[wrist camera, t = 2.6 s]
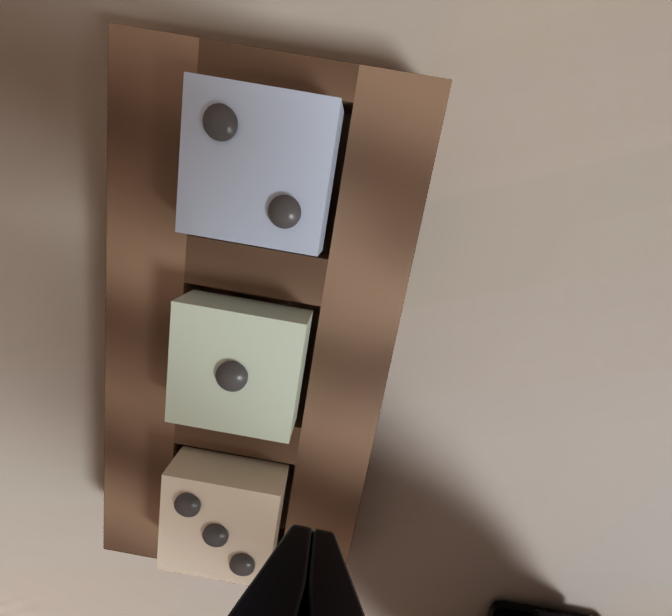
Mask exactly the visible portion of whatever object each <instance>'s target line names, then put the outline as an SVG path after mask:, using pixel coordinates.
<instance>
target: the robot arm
mask: <svg viewBox="0 0 672 616" xmlns="http://www.w3.org/2000/svg"><path fill="white" fill-rule="evenodd" d="M228 616H365V615H364V612H363V609H362V607H361V604H360V601H359V598H358V596H357V593H356V590H355V588H354V585H353V582H352V580H351V577H350V574H349V571H348V569H347V566H346V563H345V561H344V558H343V555H342V552H341V550H340V547H339V544H338V542H337V539H336V536H335V534H334V533H333V532H332V531H328V530H323V529H318V528H316V529H314V530H313V532H312V528H311V527H308V526H303V525H298V524H293V525H292V526H291V527H290V528H289V530H288V531H287V532H286V534H285V535H284V537H283V538H282V539H281V541H280V542H279V544H278V545H277V547H276V548H275V549H274V551H273V552H272V554H271V555H270V557H269V558H268V559H267V561H266V562H265V564H264V565H263V566H262V568H261V569H260V571H259V572H258V574H257V575H256V576H255V578H254V579H253V581H252V582H251V584H250V585H249V586H248V588H247V589H246V591H245V592H244V594H243V595H242V596H241V598H240V599H239V601H238V602H237V603H236V605H235V606H234V608H233V609H232V611H231V612H230V613H229V615H228ZM488 616H583V615H578V614H572V613H567V612H562V611H556V610H551V609H545V608H540V607H534V606H529V605H524V604H518V603H513V602H507V601H495V602H494V603H493V604H492V605H491V607H490V610H489V613H488Z"/></svg>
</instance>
